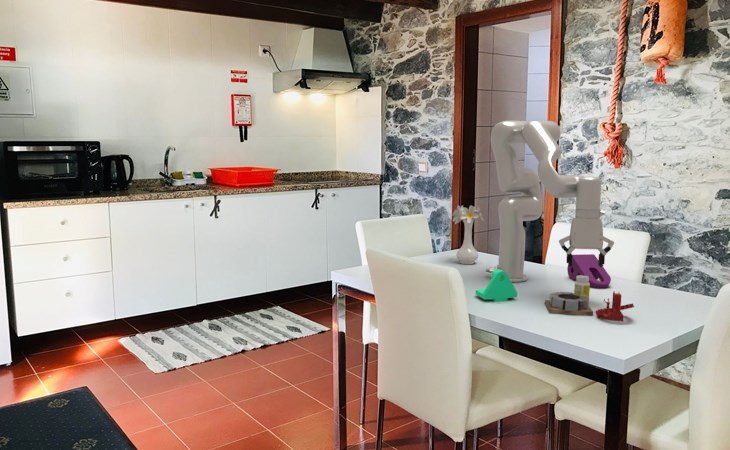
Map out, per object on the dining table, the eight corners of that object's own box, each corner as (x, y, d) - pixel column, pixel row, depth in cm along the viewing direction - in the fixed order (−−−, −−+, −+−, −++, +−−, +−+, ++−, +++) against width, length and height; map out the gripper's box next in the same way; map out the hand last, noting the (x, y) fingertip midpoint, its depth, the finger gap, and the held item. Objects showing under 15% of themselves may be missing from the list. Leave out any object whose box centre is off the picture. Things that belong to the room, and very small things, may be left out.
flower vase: (468, 257, 274) (470, 202, 270) (489, 266, 257) (492, 207, 253) (442, 259, 269) (443, 202, 266) (462, 268, 252) (464, 208, 248)
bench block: (549, 313, 190) (549, 309, 190) (544, 303, 201) (544, 300, 201) (593, 315, 188) (593, 311, 188) (585, 305, 199) (586, 302, 199)
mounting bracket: (608, 301, 226) (588, 271, 241) (615, 284, 222) (594, 254, 236) (584, 302, 225) (565, 271, 240) (591, 284, 220) (571, 254, 235)
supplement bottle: (588, 300, 206) (590, 275, 205) (588, 303, 201) (590, 278, 200) (573, 298, 207) (575, 274, 206) (573, 302, 203) (575, 277, 202)
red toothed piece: (606, 310, 194) (608, 284, 193) (640, 320, 184) (642, 293, 183) (583, 315, 189) (585, 289, 188) (617, 325, 179) (619, 298, 177)
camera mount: (506, 294, 212) (507, 265, 211) (517, 300, 205) (518, 270, 204) (474, 296, 209) (475, 267, 208) (484, 302, 202) (485, 272, 200)
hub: (552, 309, 190) (553, 298, 189) (547, 300, 201) (548, 289, 200) (590, 311, 188) (591, 300, 187) (583, 301, 199) (584, 290, 198)
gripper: (612, 213, 202) (609, 264, 204) (558, 212, 205) (556, 263, 207) (618, 216, 195) (615, 269, 197) (561, 215, 198) (559, 267, 200)
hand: (585, 266), depth 202 cm, fingers open, 9 cm apart
